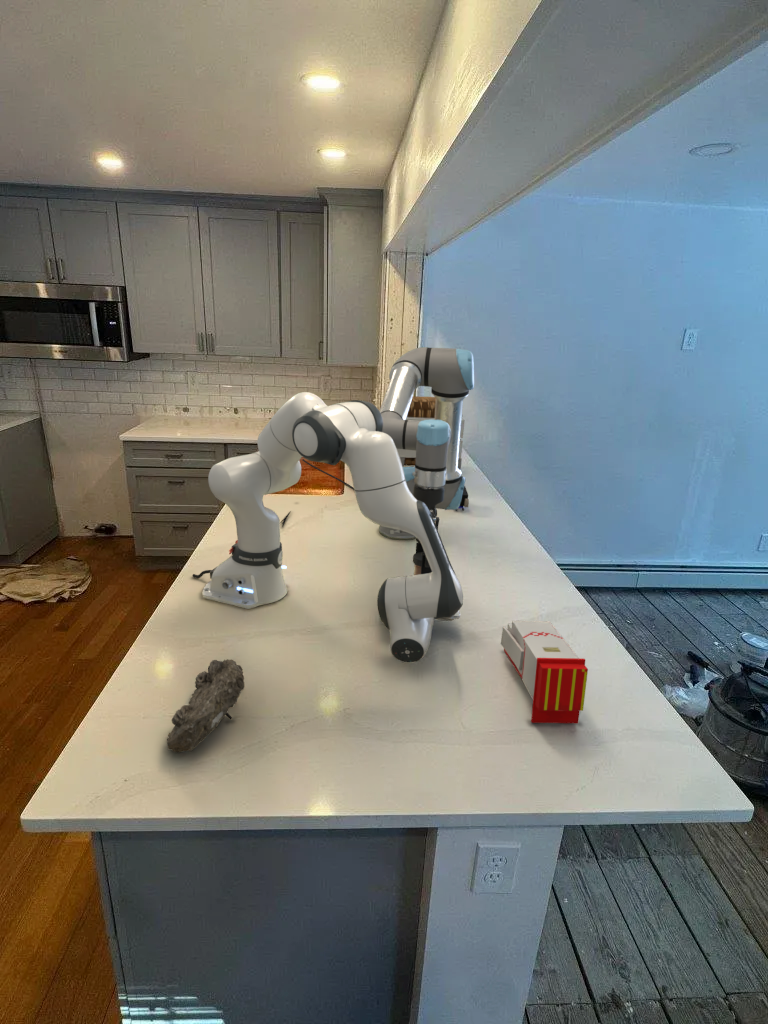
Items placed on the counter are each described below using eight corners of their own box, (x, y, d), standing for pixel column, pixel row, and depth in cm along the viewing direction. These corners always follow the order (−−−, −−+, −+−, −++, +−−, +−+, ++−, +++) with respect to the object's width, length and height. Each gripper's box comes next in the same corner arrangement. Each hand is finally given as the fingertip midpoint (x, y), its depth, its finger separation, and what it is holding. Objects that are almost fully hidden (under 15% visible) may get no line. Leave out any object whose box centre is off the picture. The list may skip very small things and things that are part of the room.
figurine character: (468, 516, 224) (463, 500, 237) (471, 498, 221) (465, 483, 234) (452, 515, 224) (447, 499, 237) (453, 498, 220) (449, 482, 234)
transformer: (382, 463, 289) (386, 382, 275) (445, 464, 293) (451, 384, 279) (390, 482, 257) (394, 392, 243) (460, 483, 261) (468, 394, 247)
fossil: (192, 660, 117) (244, 628, 112) (224, 691, 120) (276, 661, 115) (142, 746, 98) (202, 712, 93) (182, 779, 101) (242, 748, 96)
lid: (416, 567, 141) (416, 561, 140) (410, 558, 146) (410, 552, 146) (437, 566, 142) (437, 560, 142) (430, 557, 147) (431, 551, 147)
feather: (297, 505, 227) (300, 501, 226) (281, 528, 200) (284, 524, 199) (293, 503, 226) (296, 499, 226) (277, 526, 200) (279, 522, 199)
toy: (547, 606, 135) (596, 665, 106) (541, 658, 138) (589, 729, 108) (496, 604, 134) (532, 664, 105) (492, 657, 137) (526, 729, 108)
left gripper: (460, 608, 132) (462, 582, 145) (374, 598, 135) (384, 573, 148) (458, 631, 134) (460, 603, 147) (373, 621, 137) (383, 594, 150)
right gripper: (406, 474, 145) (401, 556, 153) (423, 497, 128) (416, 589, 136) (434, 474, 147) (428, 555, 154) (455, 497, 129) (447, 587, 137)
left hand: (421, 588), depth 148 cm, fingers closed on jar, 4 cm apart
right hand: (422, 571), depth 145 cm, fingers open, 6 cm apart
